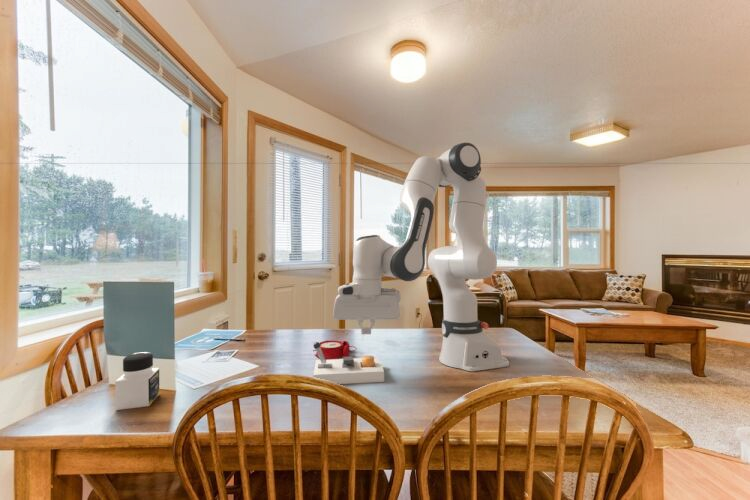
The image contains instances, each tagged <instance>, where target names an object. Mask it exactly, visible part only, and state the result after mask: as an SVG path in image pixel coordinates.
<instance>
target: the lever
mask: <svg viewBox="0 0 750 500" xmlns="http://www.w3.org/2000/svg"><path fill="white" fill-rule="evenodd" d="M313 348H314V349H315V350H316V351H315V352H316V353H317V354H318V356H319V358H318V359H319V360H320V361H321V363H322V365H323V364H325V363H326V360H327V359H325V357H324V355H323V353H322V350H321V348H320V342H317V341H316V342H314V343H313Z"/></svg>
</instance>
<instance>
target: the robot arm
mask: <svg viewBox="0 0 750 500" xmlns="http://www.w3.org/2000/svg"><path fill="white" fill-rule="evenodd" d="M481 158H482V157H481V155H480V151H479V150H478V148H477V147H476V145H474V144H473V143H470V142H461V143H457V144H456V145H454V146H453V147H451V148H449V149H447V150H446V151H444V152H443V153H441V154H440V155H439V156H438V157H437V158H435V157H432V156H430V155H422V156H420V157H418V158H417V159H416V160H415V162H413V165H412V166H411V168H410V170H409V172H408V173H407V176H406V178H405V180H404V183H403V184H402V185H403V186H402V188H401V191H400V197H399V202H400V205H401V206H402V208H403V210H404V211H406V212H407V213H408V214H410V222H409V224H408V225H409V226H408V229H407V233H406V238H405V240H404V242H403V243H402V244H401V245H400V246H394V245H393V244H391V243H388V242H387V241H386V240H384V239H383V238H382V237H381V236H380V235H378V234H371V235H364V236H360V237H358V238H357V239H356V240H355V242H354V246H353V252H352V266H353V275H352V282H349V283H346V284H343V285H340V286H338V288H337V295H336V297H335V299H334V305H333V310H332V317H333V319H334V320H336V321H337V320H338V321H339V320H342V321H343V320H344V321H345V320H347V321H348V320H349V321H352V320H357V324H358V325H359V328H360V334H361V335H371V334H372V329H373V327H374V326H375V324H376V320H398V319H399V318H400V316H401V311H400V308H401V307H400V302H401V292H400V291H399V290H397V289H396V288H394V287H393V288H383V287H382V278H383V276H385V277H390V278H395V279H399V280H401V281H405V282H412V281H416V280H417V279H418V278H419V277H420V276H421V275H422V273H423V272H424V269H425V265H426V247H427V243H428V241H429V240H428V239H429V235H430V231H431V227H432V222H433V219H434V214H435V212H434V211H435V206H434V201H435V198H436V195H437V192H438V189H439V188H447V187H450V186H451V187H452V190H453V199H452V204H451V210H450V216H449V222H448V226H449V230H450V231H452V232H453V234H455V235H456V239H457V245H444V246H441V247H440V246H439V247H437V248H434V249H432V250H431V252H430V253H429V255H428V256H427V257H428V259H427V266H428V268H429V270H430V271H431V273H432V274H433V275H434V276H435V277H436V280H437V282H438V285H439V287H440V290H441V294H442V301H443V302H442V305H443V306H442V307H443V317H442V322H441V332H442V333H441V334H442V343H441V349H440V354H439V357H438V362H440V363H442V365H445V366H448V367H451V368H456V369H460V370H461V369H462V370H464V371H468V372H477V371H484V370H491V369H499V368H506V367H509V366H510V362H509V360H508V359H507V357H505V356H503V354H502V350H501V347H500V344H499V343H498V342H497V340H495V339H493V337H491V336H490V335H489V334H488V333H487V332H485V331H483V330H487V329H488V328H489V323H487V322H485V321H481V320H479V319H478V298H477V295H476V294H475V293H474V292H473V291H472V290H471V289H470V287H469V286H468V284H467V281H466V280H473V281H475V280H484V279H488V278H491V277H492V276H493V275H494V273H495V272H496V269H497V265H498V260H497V256H496V254H495V252H494V251H493V250H492V249H491V247H489V245H488V243H487V242H486V239H485V235H484V220H485V211H486V203H487V183H486V181H485V180H484V178H482V177H481V176H480V173H481V172H482V167H481V163H482V160H481ZM364 320H369V323H370V324H369V325H368V327H364V326H363V325H362V324H363V322H364Z"/></svg>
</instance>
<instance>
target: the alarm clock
mask: <svg viewBox="0 0 750 500" xmlns="http://www.w3.org/2000/svg"><path fill="white" fill-rule="evenodd" d="M319 343H320V348H321V350H322V353H323V355H324V357H325V360H331V359H342V358H343V357H350V353H351V352H355V351H356V350H357V349H358V348H357V347H356V346H353V345H352V346H351V345H350V343H349V342H348V341H347V340H343V342H342V341H340V340H324V341H321V342H319ZM351 348H355V349H354V350H350V349H351ZM312 351H313V352H315V356H316V357H317V358H318V359H320V358H319V356H318V354H317V351H316V349H315V350H314V349H313V350H312Z"/></svg>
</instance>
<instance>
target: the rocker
mask: <svg viewBox="0 0 750 500" xmlns="http://www.w3.org/2000/svg"><path fill="white" fill-rule="evenodd" d="M353 358H354V356H351V355H350V356H348V357H342V359H343V364H354V359H353Z"/></svg>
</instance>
